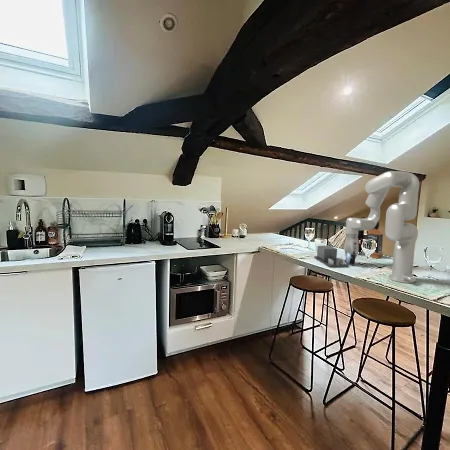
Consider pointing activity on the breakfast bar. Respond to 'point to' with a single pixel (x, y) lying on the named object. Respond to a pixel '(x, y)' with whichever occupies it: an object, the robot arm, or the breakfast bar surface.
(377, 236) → the whiskey bottle
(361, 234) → the dark red-label bottle
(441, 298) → the breakfast bar surface
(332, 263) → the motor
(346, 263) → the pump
